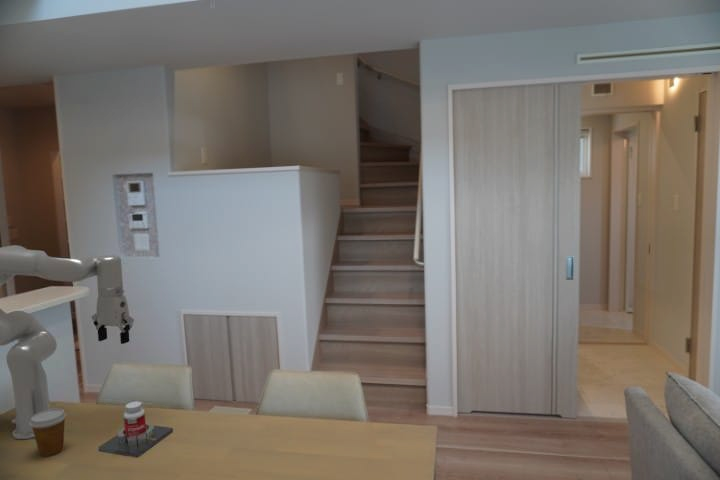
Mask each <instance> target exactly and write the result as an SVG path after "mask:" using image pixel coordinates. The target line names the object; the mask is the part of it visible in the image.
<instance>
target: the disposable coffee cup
mask: <svg viewBox="0 0 720 480" xmlns="http://www.w3.org/2000/svg"><path fill="white" fill-rule="evenodd" d="M66 416H67V413H66V412H65V410H64V409H62V408H50V409H49V410H45V411H42V412H39V413H37V414H35V415H34V416H33V417H32V418H31V421H30V425H31V427H32V428H33V432H34V436H35V437H34V439H35V442H36V446H37V451H38V453H39V456H40V457H43V458H44V457H45V458H46V457H52V456H55V455H57V454H59V453H61V452H62V451H63V450H64V444H65V443H64V440H65V420H66Z"/></svg>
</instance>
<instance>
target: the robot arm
mask: <svg viewBox="0 0 720 480" xmlns="http://www.w3.org/2000/svg"><path fill="white" fill-rule="evenodd" d="M122 267H123V266H122V258H121V257H120V256H119V255H115V254H114V255H113V254H110V255H95V254H85V255H81V256H78V257H75V258H64V257H55V256H54V257H53V256H49V255H48V254H47V253H46V252H45V251H44V250H38V249H37V250H36V249H34V250H33V249H27V248H26V247H24V246H21V245H17V244H16V245H7V246H2V247H0V287H1V286H3V285H4V284H6V283H7V282H8V281H9V280H11V279H12V278H13V277H15V276H17V275H18V276H30V277H38V278H41V279H44V280H47V281H57V282H67V283H68V282H70V283H77V282H78V283H79V282H82V281H84V280H86V279H90V278H92V277H96V281H97V282H96V283H97V298H96V299H97V300H96V313H95V314H93V315H91V320H92V321H93V325H94V326H95V329H96V330H97V340H98V342H104V341H105V340H107V339H108V329H107V327H106V326H109V327H118V329H119V331H120V332H119V337H120V345H125V344H126V343H129V342H130V331H131V329H132V327H133V324H134V321H135V319H134V318H133V317H131V316H130V311H129V306H128V305H129V304H128V300H127V298H126V295H124V293H125V290H124V286H123V283H124V282H123V268H122ZM15 341H18V342H16V343H15V344H14V345H13V346H12V347H11V348H10V349H9V350H8V352H7V354H6V365H7V368H8V371H9V373H10V377H11V381H12V390H13V397H14V406H15V418H13V419H12V420H11V424H15V426H16V427H15V428H14V429H13V431H12V437H13V438H15V439H18V440H28V439H29V440H30V439H33V438H34V439H35V436H34V432H33V428H32V427H31V425H30V421H31V418H32V417H33V416H34V415H35V414H37V413H39V412H42V411H45V410H49V409H51V406H50V405H51V404H50V395H49V386H48V378H47V377H48V376H47V373H46V371H45V369H44V367H43V364H42V362H44V361H45V360H47V359H48V358H50V357H51V356H53V354H54V353H55V352H56V350H57V341H56V338H55V337H54V335H53V334H51V332H49V330H48V329H47V328H46V327H44V325H43V324H42V323H41V322H40V321H38V320H37V319H36V317H34V316H33V315H32V314H30V313H29V312H27V311H24V310H14V311H10V312H5V311H4V310H3V309H2V308H0V347H1V346H5V345H9V344H10V343H13V342H15Z"/></svg>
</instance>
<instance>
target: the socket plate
mask: <svg viewBox="0 0 720 480" xmlns="http://www.w3.org/2000/svg"><path fill="white" fill-rule="evenodd" d="M173 432H174V427H169V426H162V425H161V426H160V425H155V424H154V423H153V422H150V423H146V431H145V432H143V433H141V434H138V435H132V436H129V437H128V441H127V440H126V438H125V426H123V427H122V428H120V429H119V430H118V432H117V434H116V435H115V436H113V437H112V438H110V439H109V440H107V441H106V442H104V443H102V444H101V445H99V446H98V452H103V453H109V454H115V455H122V456H128V457H133V458H139V457H140V456H141V455H143V454H145V453H146V452H147V451H148V450H150V449H151V448H153V447H154V446H156V445H157V444H158V443H160V442H161V441H162V440H163V439H165V438H166V437H168V436H169V435H171V433H173Z"/></svg>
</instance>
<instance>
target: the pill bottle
mask: <svg viewBox="0 0 720 480" xmlns="http://www.w3.org/2000/svg"><path fill="white" fill-rule="evenodd" d="M123 422H124V423H123V427H125V438H126V440H127V441H128V437H129V436H132V435H138V434H141V433H143V432H145V431H146V424H147V422H146V412H145V409H143V404H142V402H141V401H132V402H129V403H127V404H126V405H125V412H124V414H123Z"/></svg>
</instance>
